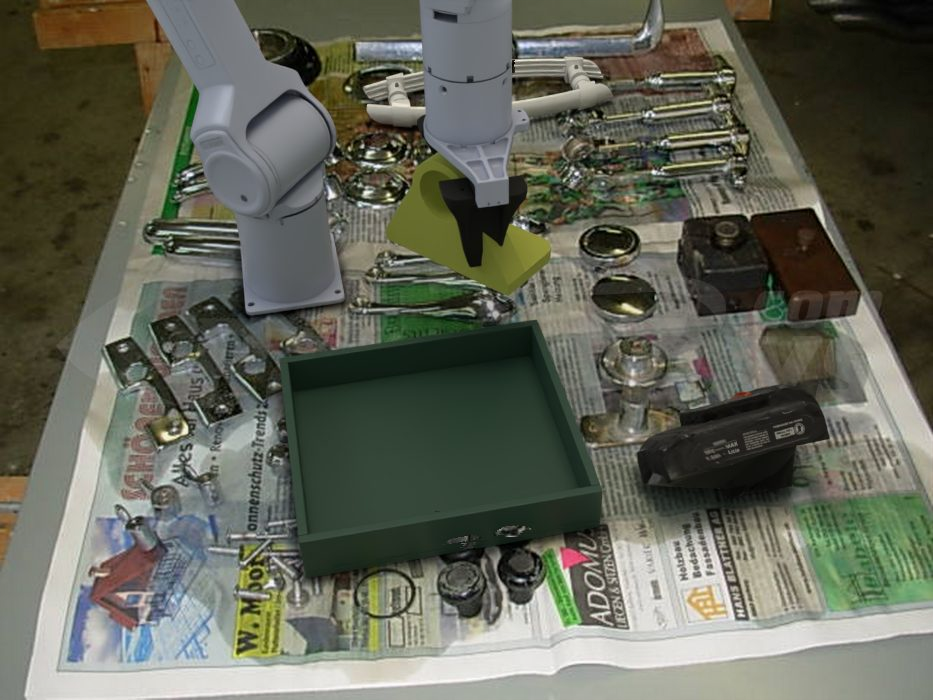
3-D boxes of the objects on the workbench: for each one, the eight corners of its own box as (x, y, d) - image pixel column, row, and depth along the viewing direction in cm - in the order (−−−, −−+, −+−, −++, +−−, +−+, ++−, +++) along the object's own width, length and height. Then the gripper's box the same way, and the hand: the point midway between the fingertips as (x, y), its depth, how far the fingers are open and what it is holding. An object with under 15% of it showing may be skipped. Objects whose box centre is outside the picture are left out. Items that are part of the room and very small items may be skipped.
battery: (810, 479, 77) (776, 384, 78) (859, 469, 69) (820, 363, 70) (649, 529, 76) (617, 431, 77) (680, 525, 68) (644, 416, 69)
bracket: (557, 269, 82) (561, 151, 75) (508, 311, 78) (508, 191, 72) (438, 216, 87) (432, 102, 80) (387, 253, 84) (377, 137, 77)
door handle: (362, 92, 116) (595, 68, 119) (370, 141, 109) (619, 114, 111) (360, 69, 114) (596, 45, 117) (368, 117, 107) (620, 90, 110)
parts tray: (285, 393, 83) (278, 357, 80) (536, 354, 85) (537, 318, 83) (306, 578, 70) (299, 543, 68) (600, 527, 72) (603, 491, 70)
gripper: (558, 109, 66) (552, 287, 75) (502, 6, 77) (503, 173, 86) (442, 124, 65) (450, 302, 74) (401, 18, 76) (413, 185, 85)
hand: (472, 234), depth 80 cm, fingers closed on bracket, 6 cm apart
